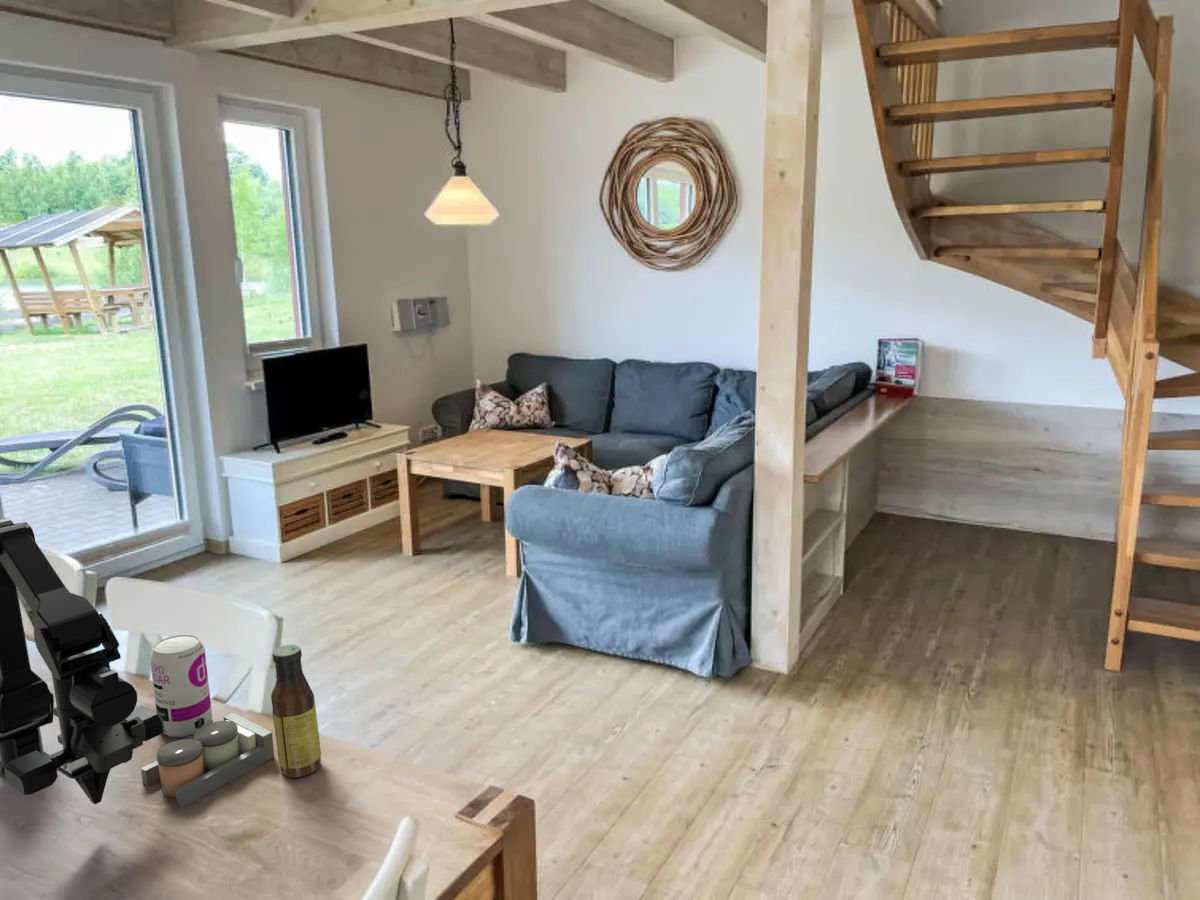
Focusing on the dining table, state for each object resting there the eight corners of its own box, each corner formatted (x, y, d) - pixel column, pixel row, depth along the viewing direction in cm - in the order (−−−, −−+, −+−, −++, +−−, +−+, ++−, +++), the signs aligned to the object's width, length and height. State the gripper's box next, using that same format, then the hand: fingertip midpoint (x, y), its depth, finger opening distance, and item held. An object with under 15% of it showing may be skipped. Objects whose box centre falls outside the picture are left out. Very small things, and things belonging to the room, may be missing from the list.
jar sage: (189, 767, 141) (185, 734, 139) (225, 749, 146) (221, 716, 144) (213, 781, 137) (210, 746, 136) (249, 761, 142) (245, 728, 141)
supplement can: (221, 714, 156) (212, 634, 153) (196, 740, 148) (186, 656, 145) (176, 712, 157) (166, 632, 154) (149, 738, 149) (138, 653, 146)
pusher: (223, 747, 146) (220, 722, 145) (229, 744, 147) (227, 719, 146) (250, 762, 142) (248, 736, 141) (257, 758, 143) (254, 733, 142)
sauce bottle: (330, 761, 143) (320, 644, 138) (305, 783, 137) (294, 662, 132) (295, 753, 145) (284, 638, 140) (269, 775, 139) (257, 655, 134)
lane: (142, 783, 137) (139, 757, 136) (234, 736, 149) (232, 712, 148) (182, 807, 131) (178, 780, 130) (274, 757, 144) (272, 732, 143)
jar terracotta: (152, 787, 136) (147, 753, 134) (191, 768, 141) (187, 734, 139) (175, 802, 132) (171, 767, 131) (214, 781, 137) (210, 747, 136)
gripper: (36, 750, 110) (54, 862, 114) (180, 688, 125) (192, 789, 129) (-6, 723, 116) (12, 829, 120) (136, 667, 131) (149, 763, 135)
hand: (96, 802), depth 126 cm, fingers closed
